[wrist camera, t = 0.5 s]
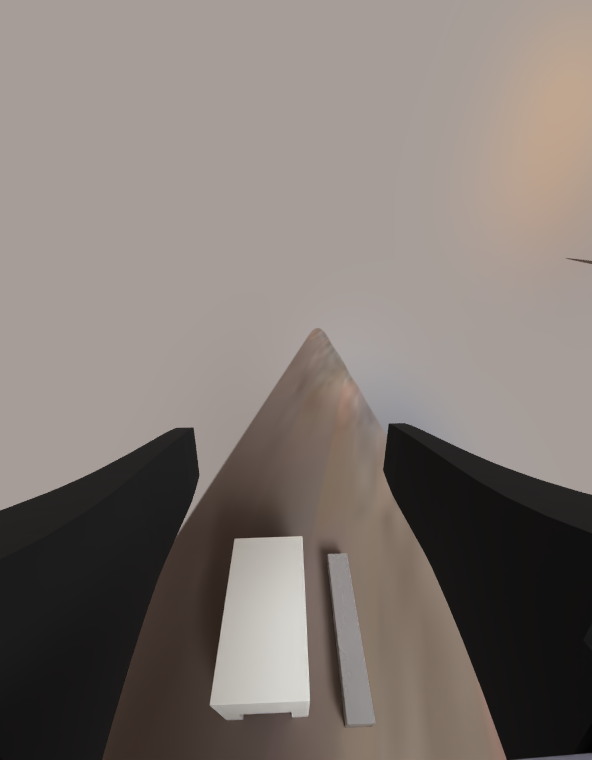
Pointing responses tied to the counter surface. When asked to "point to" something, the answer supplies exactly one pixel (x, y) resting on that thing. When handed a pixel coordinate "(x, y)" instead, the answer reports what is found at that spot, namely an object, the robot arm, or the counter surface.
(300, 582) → the cabinet block
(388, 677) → the counter surface
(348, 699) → the rail
